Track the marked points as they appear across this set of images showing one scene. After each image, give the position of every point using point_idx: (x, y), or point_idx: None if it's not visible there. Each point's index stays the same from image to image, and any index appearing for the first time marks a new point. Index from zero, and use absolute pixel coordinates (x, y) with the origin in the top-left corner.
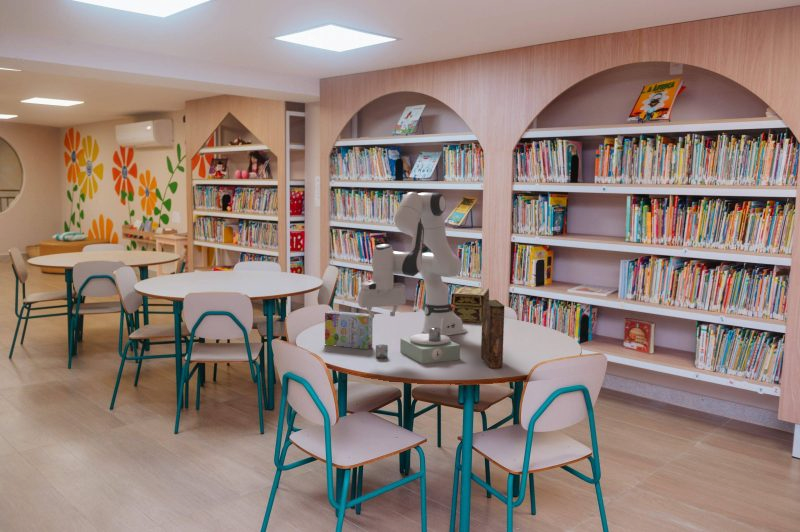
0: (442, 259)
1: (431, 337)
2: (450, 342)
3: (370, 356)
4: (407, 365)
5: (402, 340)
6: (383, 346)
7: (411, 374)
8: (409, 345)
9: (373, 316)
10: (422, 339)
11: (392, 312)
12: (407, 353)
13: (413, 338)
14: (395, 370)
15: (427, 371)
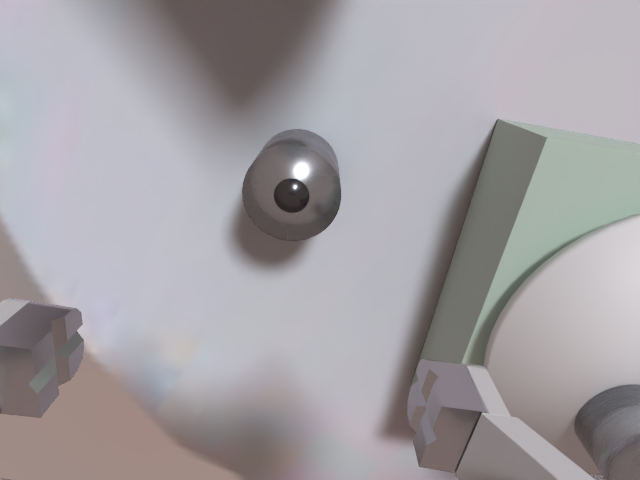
0: None
1: (590, 455)
2: None
3: (243, 105)
4: (331, 370)
5: (527, 176)
6: (293, 218)
7: (262, 468)
8: (477, 292)
9: (58, 376)
10: (574, 363)
11: (430, 466)
12: (466, 236)
13: (546, 309)
14: (229, 401)
15: (349, 470)
